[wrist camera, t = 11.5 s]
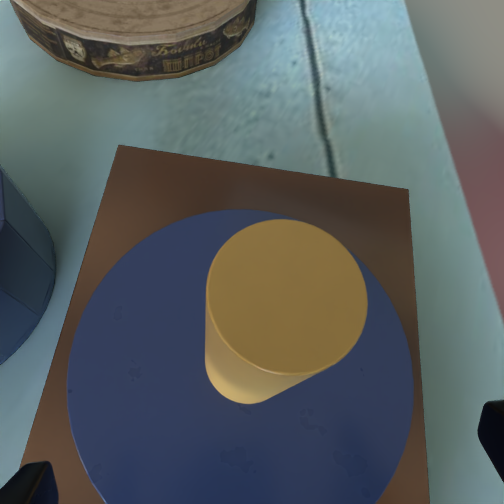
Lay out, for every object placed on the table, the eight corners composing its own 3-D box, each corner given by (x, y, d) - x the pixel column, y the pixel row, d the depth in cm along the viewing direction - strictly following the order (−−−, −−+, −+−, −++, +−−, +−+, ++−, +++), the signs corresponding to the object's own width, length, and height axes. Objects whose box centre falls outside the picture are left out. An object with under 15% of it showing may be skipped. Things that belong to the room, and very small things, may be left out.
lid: (319, 646, 11) (536, 1051, 4) (-2, 429, 13) (-292, 427, 5) (440, 310, 16) (644, 205, 8) (195, 176, 17) (189, -16, 10)
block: (385, 640, 15) (445, 708, 11) (21, 607, 14) (-44, 669, 10) (374, 229, 22) (409, 188, 18) (132, 193, 21) (118, 143, 17)
